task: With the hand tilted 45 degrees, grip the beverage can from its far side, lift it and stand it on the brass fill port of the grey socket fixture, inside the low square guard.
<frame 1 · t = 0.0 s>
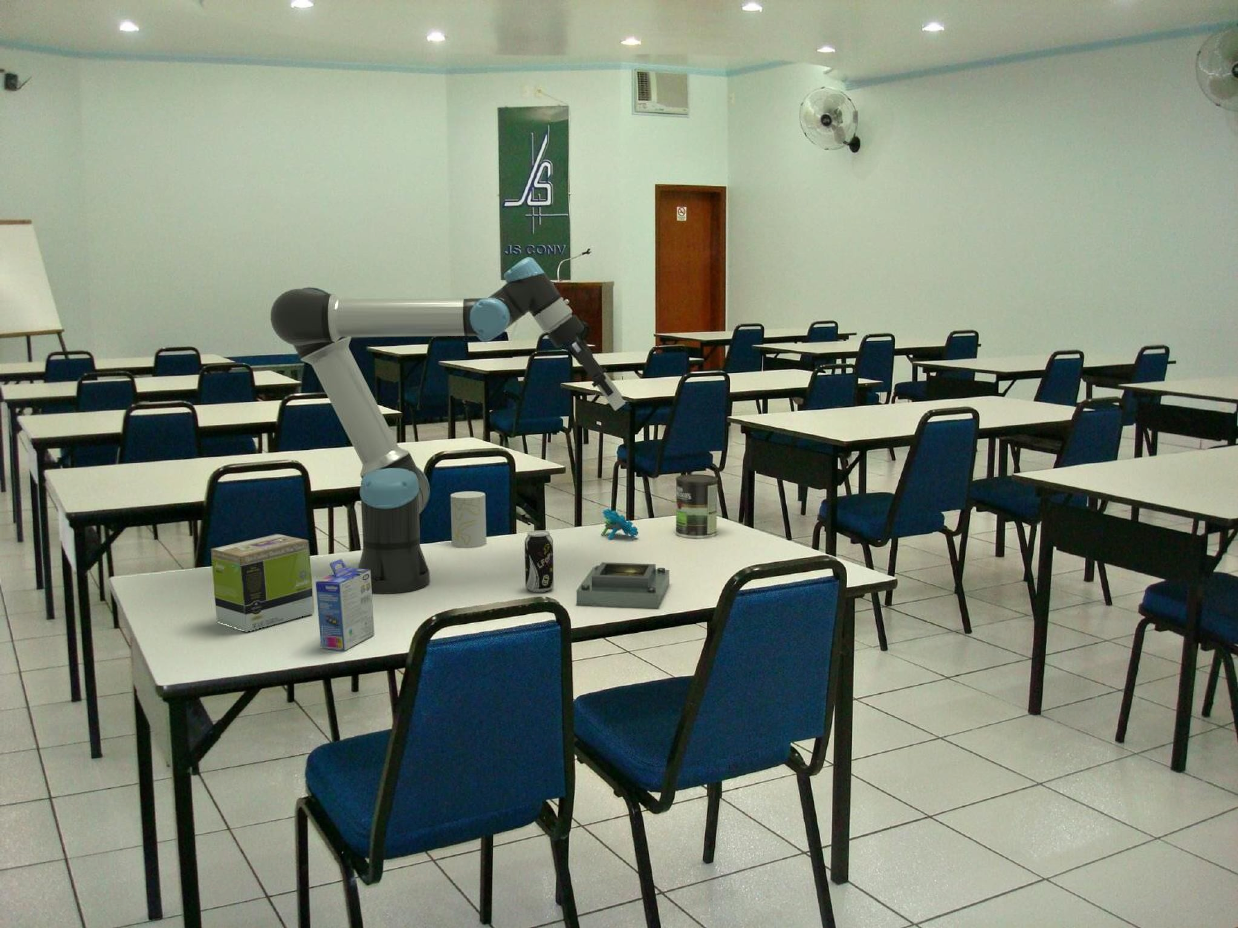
hand: (619, 403, 250), 36 cm above the table, tool tilted 35°, fingers open, 13 cm apart
grey socket fixture: (624, 594, 233), on the table
cup: (469, 544, 277), on the table
beverage can: (539, 590, 236), on the table
ink cartridge box: (347, 642, 204), on the table
coffee can: (696, 534, 286), on the table
blue lumpy piece: (619, 538, 283), on the table
tea box: (265, 620, 217), on the table
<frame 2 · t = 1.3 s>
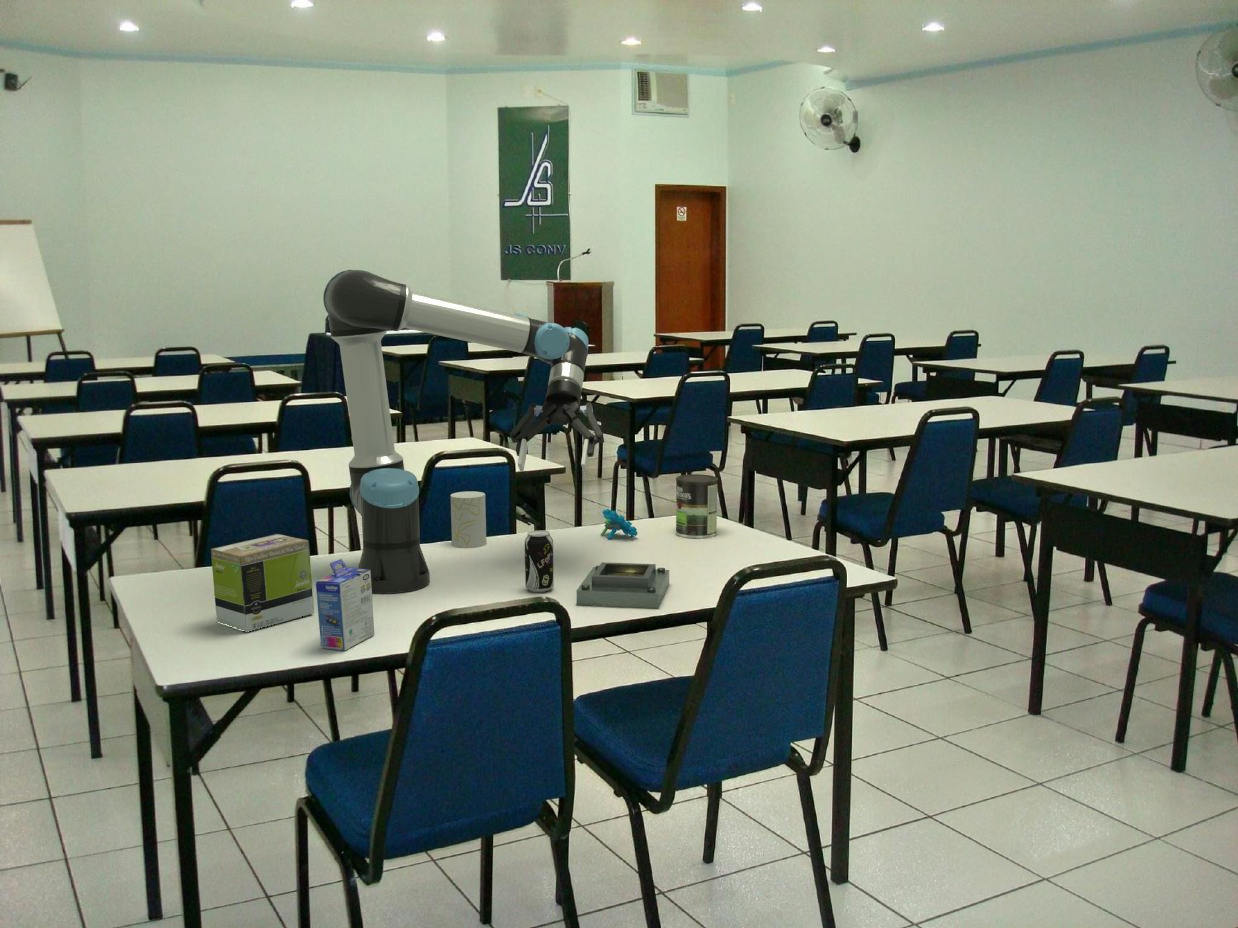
hand: (552, 467, 243), 23 cm above the table, tool tilted 45°, fingers open, 13 cm apart
nothing on the table moved.
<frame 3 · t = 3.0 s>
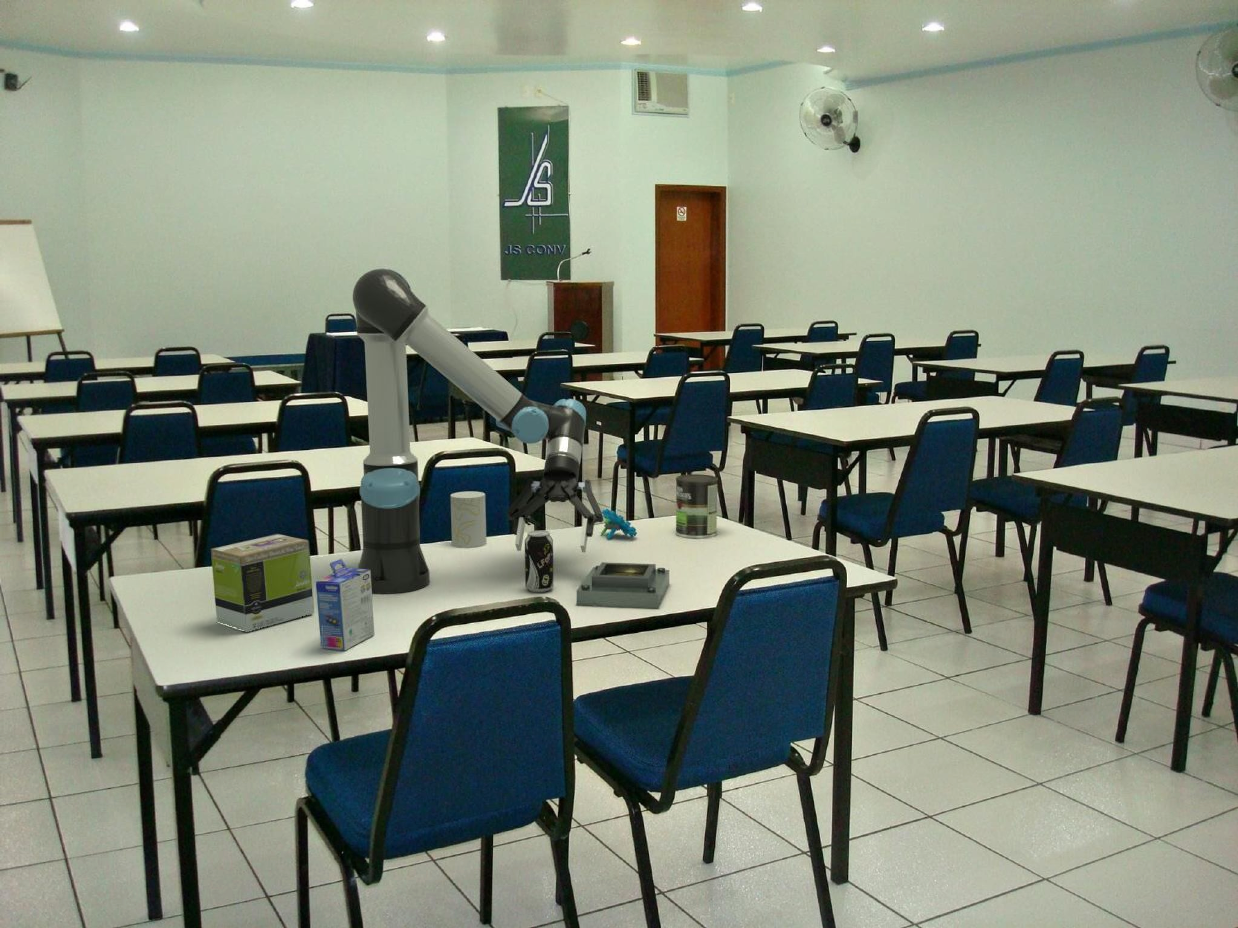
hand: (550, 548, 238), 8 cm above the table, tool tilted 45°, fingers open, 13 cm apart
nothing on the table moved.
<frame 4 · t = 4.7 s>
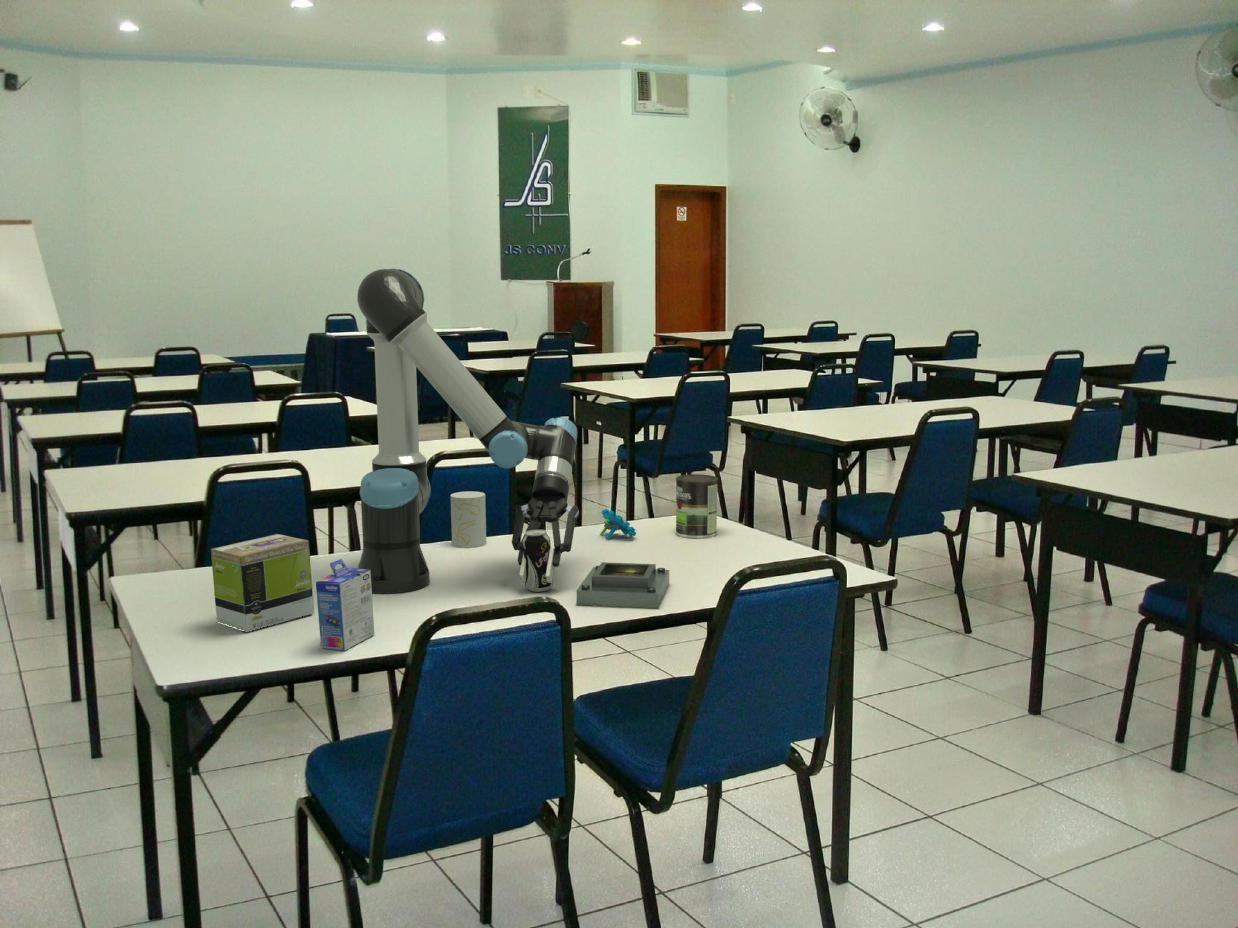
hand: (535, 578, 232), 3 cm above the table, tool tilted 45°, fingers closed on beverage can, 5 cm apart
beverage can: (539, 589, 236), on the table, touching gripper
everything else where it was.
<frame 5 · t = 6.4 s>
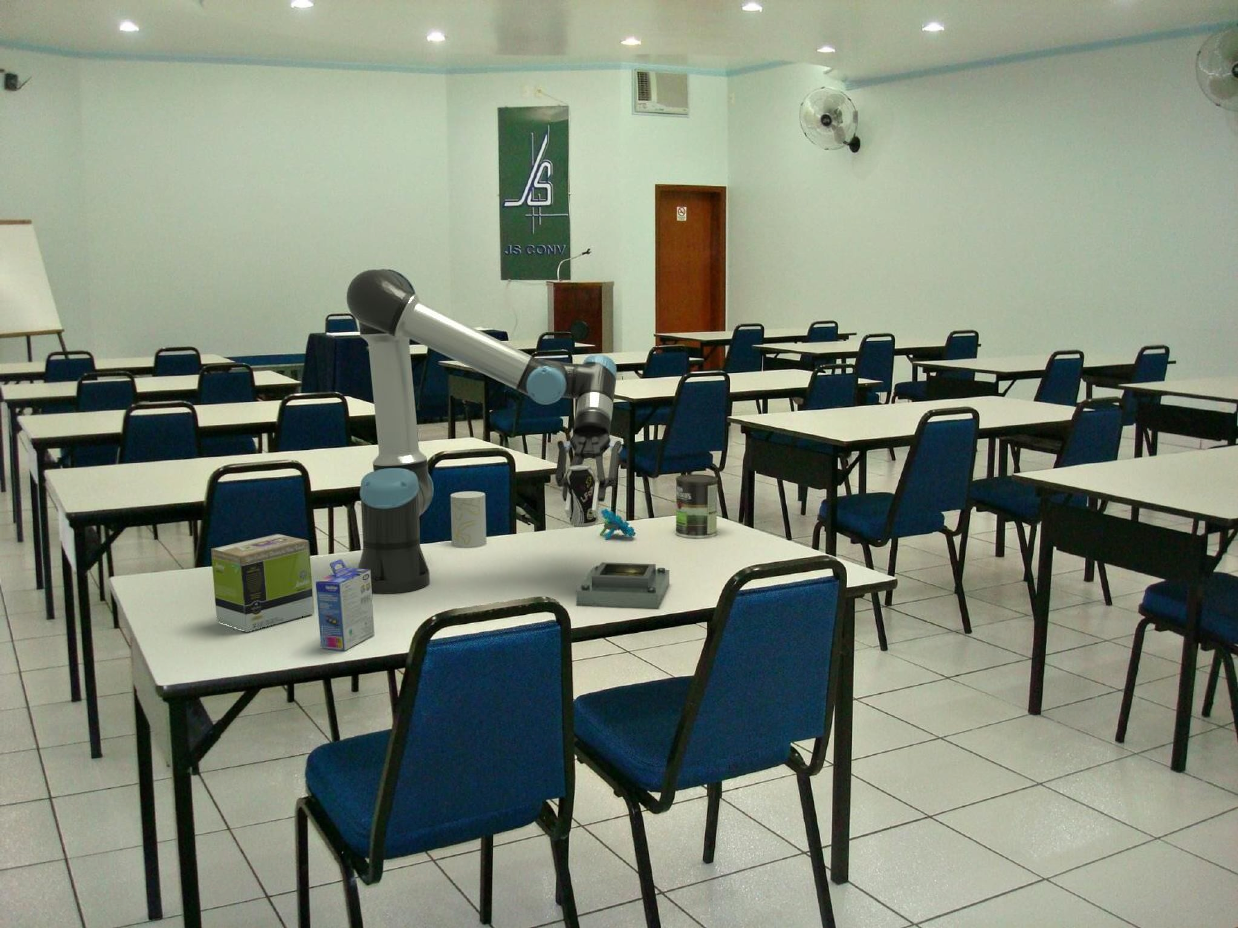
hand: (581, 513, 229), 17 cm above the table, tool tilted 45°, fingers closed on beverage can, 5 cm apart
beverage can: (584, 526, 233), point 14 cm above the table, touching gripper
everything else where it was.
when the fingers open (7 cm above the table, at t = 8.6 s): beverage can stays where it is, resting on grey socket fixture.
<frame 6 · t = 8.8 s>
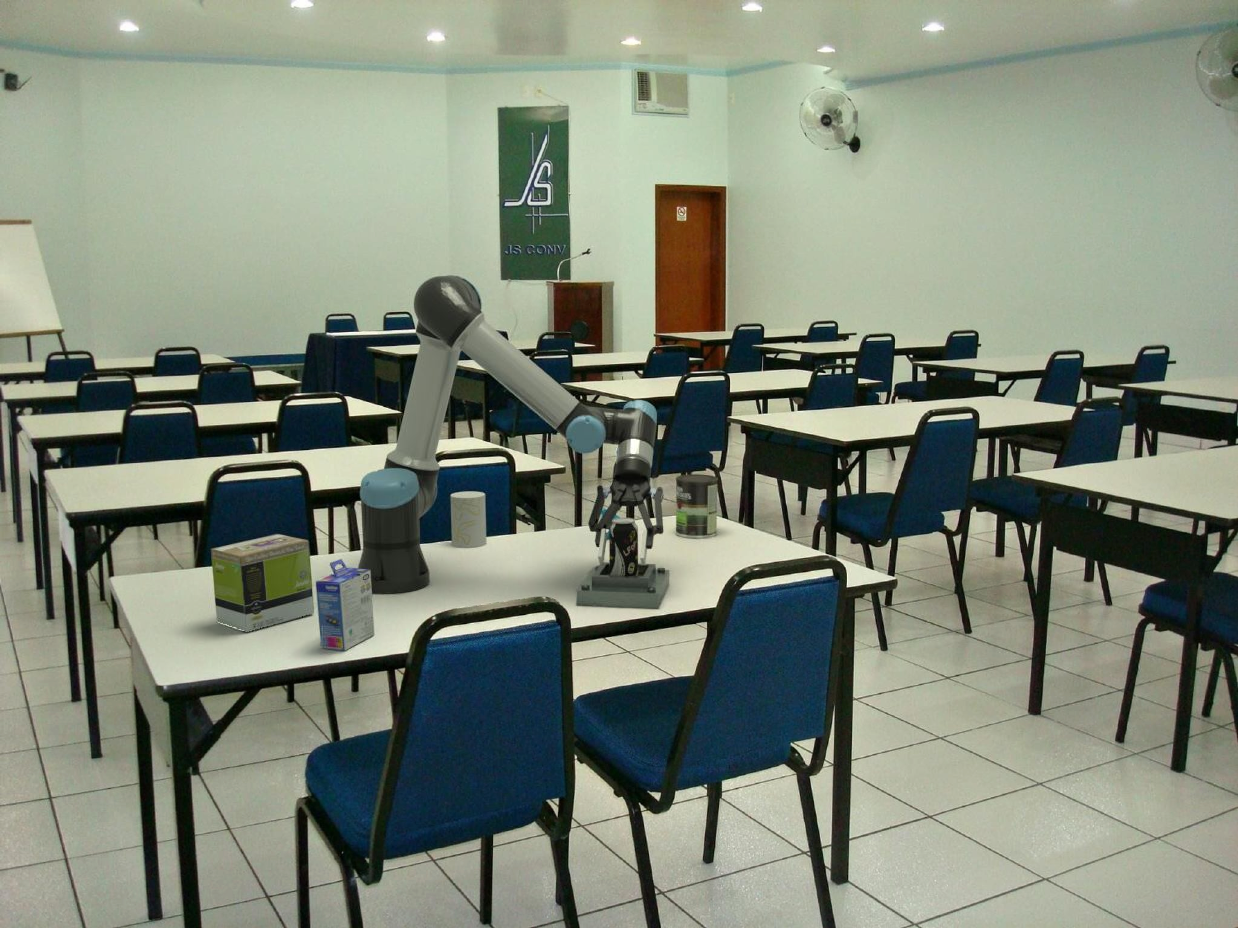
hand: (621, 560, 228), 8 cm above the table, tool tilted 45°, fingers open, 8 cm apart
beverage can: (623, 579, 232), point 3 cm above the table, touching grey socket fixture
everything else where it was.
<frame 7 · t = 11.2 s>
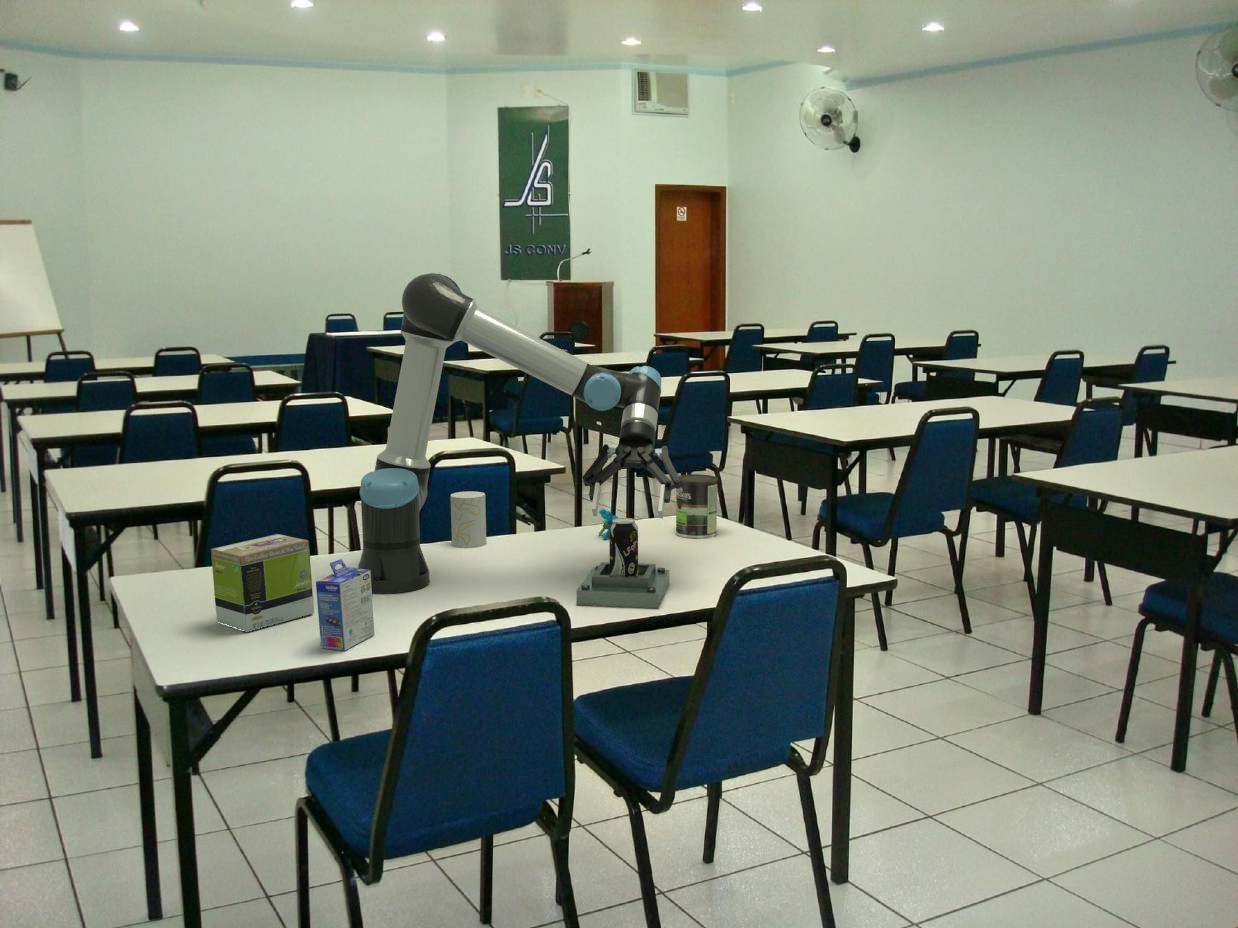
hand: (627, 513, 234), 16 cm above the table, tool tilted 45°, fingers open, 13 cm apart
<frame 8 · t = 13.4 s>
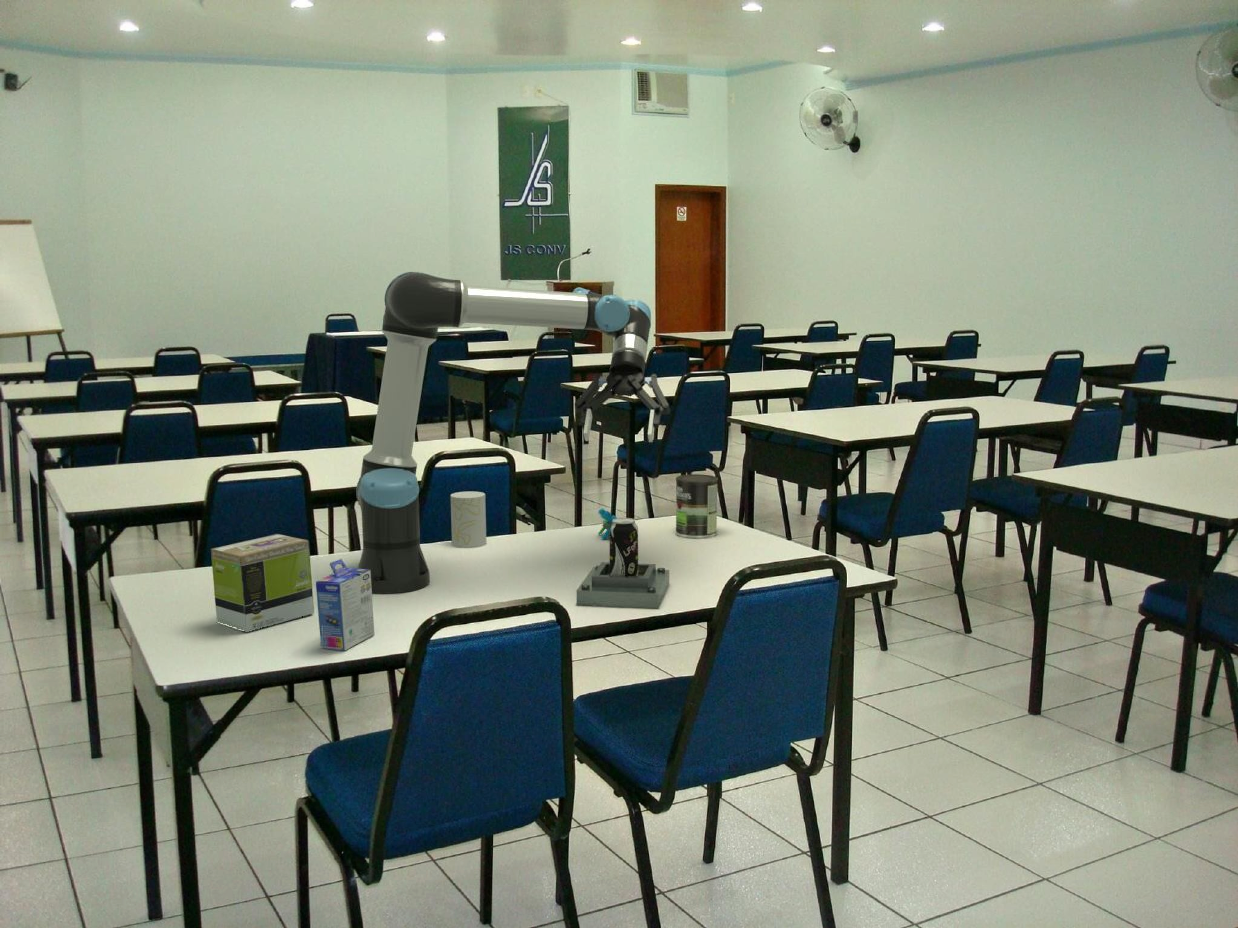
hand: (617, 437, 242), 30 cm above the table, tool tilted 45°, fingers open, 13 cm apart
at the end: beverage can inside the target area on the grey socket fixture (0.1 cm from its centre), point 3.1 cm above the grey socket fixture's base; beverage can tilted 0°; the gripper is holding nothing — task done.
